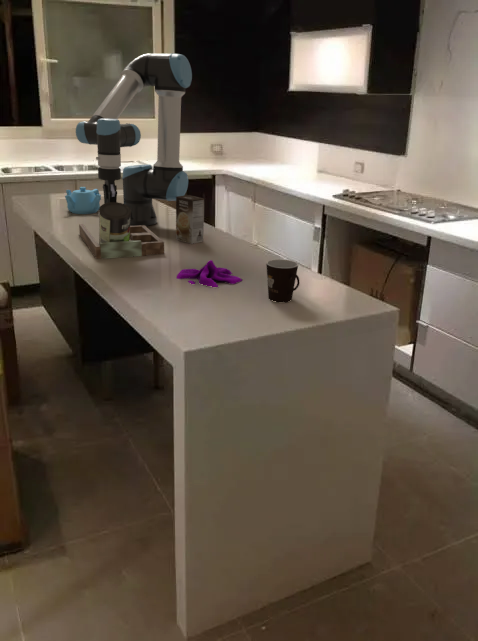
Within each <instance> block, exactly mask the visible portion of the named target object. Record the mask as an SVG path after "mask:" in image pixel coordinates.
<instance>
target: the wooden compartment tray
mask: <svg viewBox="0 0 478 641" xmlns="http://www.w3.org/2000/svg"><path fill="white" fill-rule="evenodd" d="M78 225H79V226H78V230H79V231H78V232H79V235H80V237H81V239H82V240H83V242H84V243H85V244H86V246H87V248H89V250H90V252H91V253H92V254H93V256H94V258H95V259H96V260H102V259H115V258H117V259H118V258H132V257H133V256H134V257H145V256H150V255H164V254H165V242H164V241H163V240H162V239H161V238H160V237H159V236H157V235H156V234H155V233H154V232H153V231H151V229H149V228H148V227H147V226H145V225H139V226H130V236H129V238H130V240H129V241H120V242H103V243H100V245H99V242H98V241H97V240H96V239H95V237H94V236H93V235H92V233H91V232H90V231H89V230H88V229H87V227H86V226H85V224H84V223H79V224H78Z"/></svg>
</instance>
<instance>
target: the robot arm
mask: <svg viewBox="0 0 478 641" xmlns="http://www.w3.org/2000/svg"><path fill="white" fill-rule="evenodd" d="M192 79H193V72H192V67H191V64H190V62H189V59H188V58H187V57H186V56H185V55H184V54H180V53H174V52H172V53H152V52H151V53H150V52H149V53H144V54H141V55H139V56H137V57H136V58H133V60H132V61H130V62H129V63H128V64H127V65H126V66H125V67H124V69H122V71H121V72H120V73H119V80H118V81H117V82H116V84H115V85H114V87H113V88H112V89H111V90H110V92H109V93H108V94H107V95H106V97H105V98H104V100H103V101H102V102H101V104H100V105H99V106H98V107H97V109H96V110H95V112H94V113H93V114H92V115H91V117H90V118H89V120H88V121H86V120H84V121H80V122H78V123H77V125H76V128H75V136H76V139H77V141H78V142H79V143H81V144H85V145H96V147H97V156H96V157H95V160H97V166H98V168H97V178H98V179H99V180H101V181H104V184H102V191H103V202H104V203H103V204H105V203H109V202H118V201H117V198H118V191H117V190H118V188H117V185H116V183H115V181H120V180H121V178H122V194H123V204H125V205H127V206H128V207H129V208H130V209H131V216H130V226H139V225H145V226H146V227H147V226H153V225H156V224H157V223H158V216H157V213H156V210H155V208H154V204H153V200H162V201H168V202H172V201H174V202H176V197H177V196H184V195H186V193H187V190H188V187H189V176H188V173H187V172H186V171H184V165H183V164H182V163H181V162H180V151H181V150H180V148H181V118H182V117H181V116H182V115H181V114H182V113H181V110H182V108H181V106H182V97H183V96H184V95H185V94H186V89H187V88H190V86H191V84H192V81H193V80H192ZM146 87H154V92H155V93H156V95H158V96H157V97H158V99H157V100H158V105H157V106H158V109H157V112H158V113H157V151H156V152H157V155H156V156H157V157H156V158H157V159H156V162H154V164H153V165H151V164H137V165H136V164H135V165H129V166H125V167H124V168H123V169H122V170H121V168H120V167H121V166H122V159H121V158H122V154H121V148H128V147H129V148H131V147H134V146H137V145H138V144H139V143H140V141H141V137H142V135H141V134H142V133H141V130H140V129H139V127H138V126H137V125H136V124H134V123H121V122H120V120H119V118H120V116H121V115H122V113H123V112H124V110H126V108H127V106H128V105H129V104H130V102H132V100H133V98H135V95H136V94H138V93H141V92H142V90H143V89H144V88H146Z"/></svg>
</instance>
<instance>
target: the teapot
mask: <svg viewBox="0 0 478 641" xmlns="http://www.w3.org/2000/svg"><path fill="white" fill-rule="evenodd" d="M65 192H66V195H64V197H65V200H66V203H67V204H66V205H67V206H66V208H67V210H68V211H69V212H70V213H71V212H72V213H71V214H75V215H76V214H77V215H89V214H90V215H91V214H95V213H97V212H98V211H99V208H100V206H101V205H100V202H101V200H102V198H101V197H102V194H100V192H99V189H98V188H94V189H92V190H90V189H87V187H86V186H80V187H79V189H75V190H73V191H72V190H71V189H66V190H65Z"/></svg>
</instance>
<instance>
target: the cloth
mask: <svg viewBox="0 0 478 641" xmlns="http://www.w3.org/2000/svg"><path fill="white" fill-rule="evenodd" d="M231 274H232V275H231ZM176 279H177V280H182V279H187V282H188V283H189V284H190V283H191V284H190V285H192V284H195V283H196V281H195V280H198V281H199V283H200V284H199V283H198V284H199V285H201V284H203V285H202V286H204V285H207V286H212V287H211V288H213V287H218V286H219V284H217V282H214V281H219V283H225V282H226V283H225V284H229V283H230V284H229V285H236V284H238V283H240V282H242V281H243V279H242V278H241V277H239V276H236V275H233V273H232V271H231V270H230V269H228V268H226V267H217V266H216V264H215V263H214V261H213V260H212V259H210V260H208V261H207V262H206V263H205V265H204V266H203V267H201V268H200V269H197V268H184V269H181V270H180V271H179V272H178V273H177V275H176ZM194 281H195V282H194ZM237 282H238V283H237ZM207 286H206V287H207ZM218 288H219V287H218Z"/></svg>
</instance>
